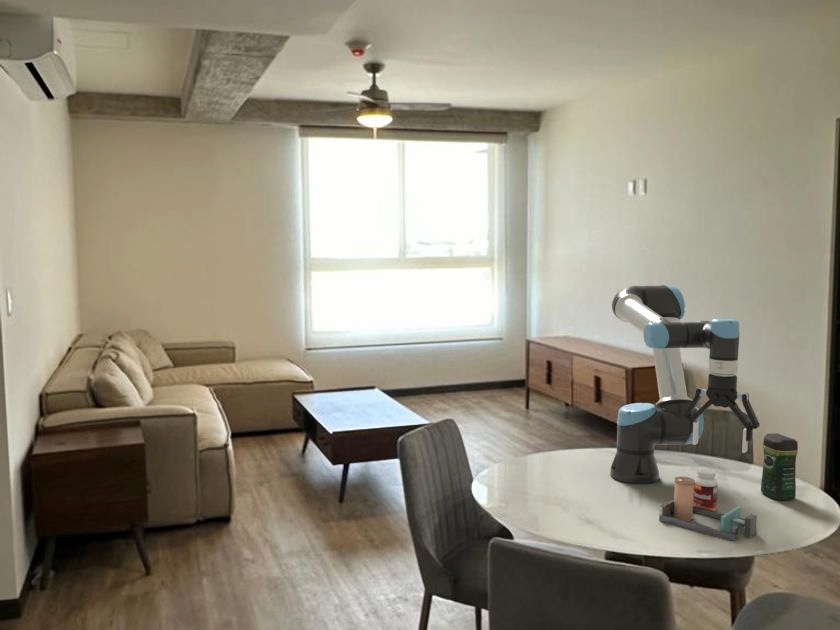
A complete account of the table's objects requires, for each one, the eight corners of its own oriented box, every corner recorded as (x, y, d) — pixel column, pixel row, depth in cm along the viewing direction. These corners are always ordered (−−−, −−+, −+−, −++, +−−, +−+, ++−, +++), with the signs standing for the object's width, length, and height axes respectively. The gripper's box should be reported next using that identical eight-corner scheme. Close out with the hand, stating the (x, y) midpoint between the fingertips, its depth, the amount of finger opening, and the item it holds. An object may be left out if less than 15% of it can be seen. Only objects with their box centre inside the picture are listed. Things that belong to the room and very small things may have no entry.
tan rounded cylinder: (669, 517, 214) (671, 479, 213) (678, 512, 218) (679, 475, 217) (687, 522, 211) (689, 483, 210) (696, 517, 215) (697, 479, 214)
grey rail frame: (659, 520, 212) (659, 506, 212) (681, 508, 222) (682, 494, 221) (733, 541, 198) (734, 525, 198) (754, 526, 208) (755, 512, 207)
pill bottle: (689, 509, 221) (691, 471, 220) (697, 503, 226) (699, 466, 225) (711, 514, 217) (713, 475, 216) (719, 508, 222) (721, 470, 221)
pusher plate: (720, 535, 202) (721, 516, 201) (737, 524, 210) (737, 506, 209) (744, 541, 198) (745, 522, 197) (761, 530, 205) (761, 511, 205)
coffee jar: (800, 500, 229) (803, 438, 227) (776, 502, 227) (779, 440, 225) (779, 490, 238) (782, 430, 236) (755, 491, 237) (758, 431, 235)
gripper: (674, 370, 223) (671, 443, 225) (767, 381, 208) (763, 458, 210) (682, 367, 229) (679, 437, 231) (773, 376, 214) (769, 452, 216)
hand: (719, 447), depth 221 cm, fingers open, 13 cm apart
